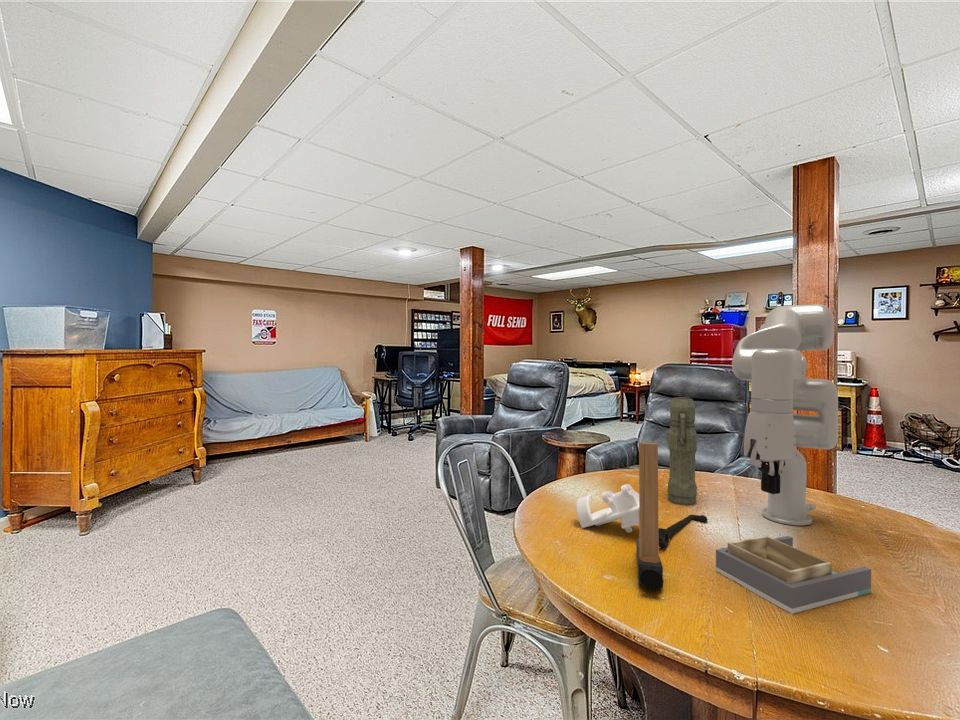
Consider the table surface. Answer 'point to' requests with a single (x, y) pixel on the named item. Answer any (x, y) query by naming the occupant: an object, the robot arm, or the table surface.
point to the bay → (798, 593)
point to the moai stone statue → (682, 452)
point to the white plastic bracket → (611, 509)
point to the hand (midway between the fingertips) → (770, 491)
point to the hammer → (648, 519)
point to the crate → (780, 559)
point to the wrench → (677, 529)
